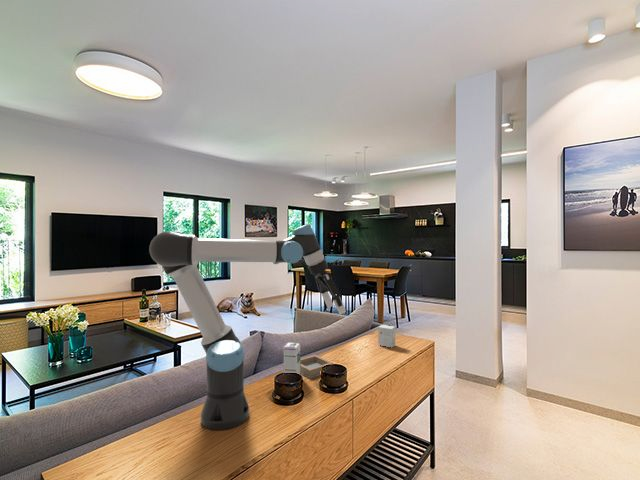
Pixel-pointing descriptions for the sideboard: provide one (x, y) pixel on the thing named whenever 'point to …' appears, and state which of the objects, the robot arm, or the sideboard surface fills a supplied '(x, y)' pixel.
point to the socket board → (313, 365)
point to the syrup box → (292, 358)
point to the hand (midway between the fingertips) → (336, 309)
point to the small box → (386, 336)
